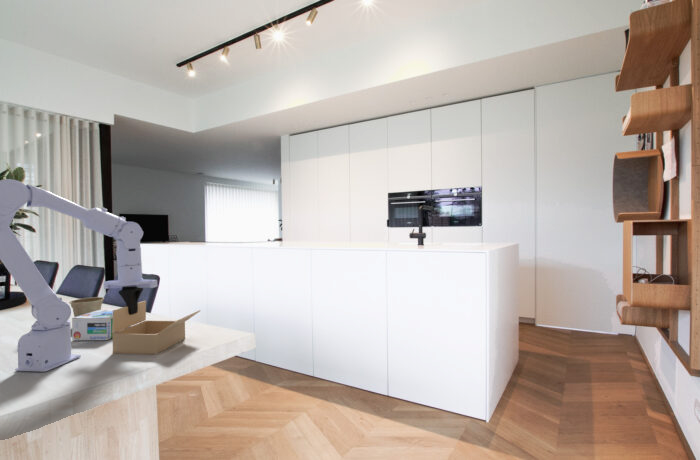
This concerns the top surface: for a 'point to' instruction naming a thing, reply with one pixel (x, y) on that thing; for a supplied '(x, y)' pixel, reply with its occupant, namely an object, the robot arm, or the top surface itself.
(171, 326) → the flap
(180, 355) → the top surface
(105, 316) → the light bulb box
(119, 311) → the flap
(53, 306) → the robot arm
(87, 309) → the flower pot
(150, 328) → the carton
